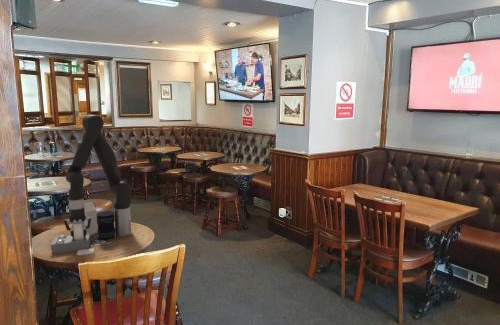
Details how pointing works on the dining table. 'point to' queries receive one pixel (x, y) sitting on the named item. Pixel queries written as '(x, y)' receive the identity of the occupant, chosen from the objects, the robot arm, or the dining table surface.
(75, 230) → the tumbler with domed lid
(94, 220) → the milk carton
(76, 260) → the dining table surface
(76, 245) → the housing
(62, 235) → the plunger
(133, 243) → the dining table surface
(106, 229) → the storage jar
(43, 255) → the dining table surface
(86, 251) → the coaster
